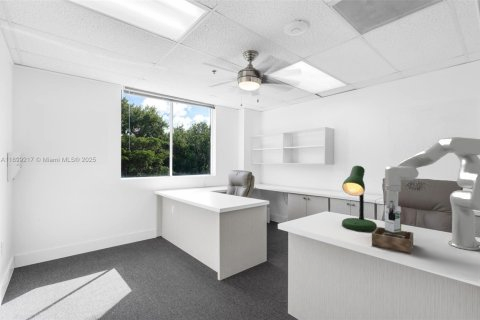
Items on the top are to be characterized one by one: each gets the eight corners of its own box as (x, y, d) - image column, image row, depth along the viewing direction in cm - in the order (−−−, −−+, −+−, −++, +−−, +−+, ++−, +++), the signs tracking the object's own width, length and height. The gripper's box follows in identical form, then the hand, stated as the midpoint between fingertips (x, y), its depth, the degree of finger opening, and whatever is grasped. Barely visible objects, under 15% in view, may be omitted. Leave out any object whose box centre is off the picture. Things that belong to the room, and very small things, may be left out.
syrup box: (393, 232, 130) (393, 206, 130) (384, 229, 135) (384, 204, 135) (401, 231, 131) (401, 206, 131) (392, 228, 137) (391, 204, 137)
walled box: (413, 244, 134) (413, 232, 134) (410, 254, 120) (410, 240, 120) (377, 237, 146) (377, 226, 146) (371, 245, 132) (371, 233, 132)
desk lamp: (369, 237, 147) (369, 166, 147) (333, 230, 162) (333, 165, 162) (379, 226, 170) (379, 165, 170) (347, 221, 185) (347, 165, 185)
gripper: (387, 186, 142) (387, 215, 142) (382, 189, 129) (382, 220, 129) (402, 187, 137) (402, 217, 137) (398, 190, 124) (398, 223, 124)
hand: (392, 218), depth 133 cm, fingers closed on syrup box, 7 cm apart
